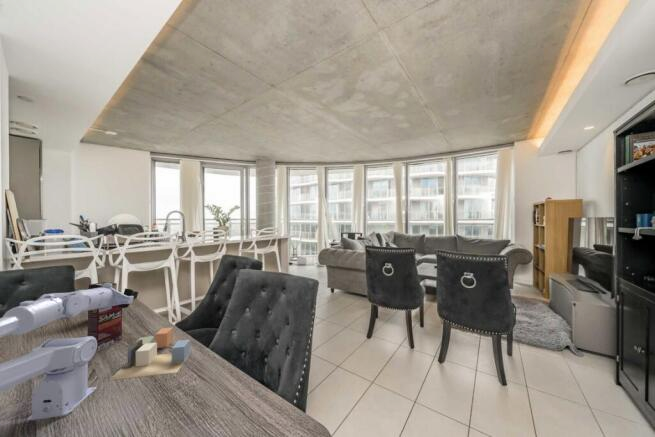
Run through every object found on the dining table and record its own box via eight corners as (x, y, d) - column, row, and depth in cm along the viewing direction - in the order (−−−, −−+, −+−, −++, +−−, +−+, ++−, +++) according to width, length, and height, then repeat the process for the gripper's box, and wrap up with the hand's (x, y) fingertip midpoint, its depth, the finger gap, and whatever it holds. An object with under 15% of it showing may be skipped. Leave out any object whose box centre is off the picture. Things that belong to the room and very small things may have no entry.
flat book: (148, 347, 89) (148, 342, 89) (133, 350, 87) (133, 345, 87) (154, 340, 94) (154, 335, 94) (139, 342, 93) (139, 337, 93)
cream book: (148, 364, 76) (148, 350, 76) (135, 366, 75) (135, 351, 75) (156, 356, 81) (156, 342, 81) (144, 357, 80) (144, 343, 80)
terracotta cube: (166, 348, 87) (166, 333, 87) (155, 350, 86) (155, 334, 86) (173, 342, 92) (173, 327, 92) (162, 343, 91) (162, 328, 91)
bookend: (130, 367, 75) (130, 349, 75) (122, 368, 74) (122, 350, 74) (142, 356, 81) (142, 339, 81) (134, 357, 80) (134, 340, 80)
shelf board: (177, 374, 72) (177, 372, 72) (108, 382, 69) (108, 380, 69) (191, 353, 84) (191, 351, 84) (133, 358, 81) (133, 357, 81)
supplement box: (97, 353, 84) (97, 306, 85) (86, 352, 85) (86, 305, 86) (123, 341, 93) (123, 298, 93) (112, 340, 94) (112, 298, 94)
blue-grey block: (184, 361, 78) (184, 346, 78) (171, 362, 77) (171, 348, 77) (189, 352, 83) (189, 339, 83) (178, 354, 82) (178, 340, 82)
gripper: (123, 288, 70) (150, 284, 84) (68, 281, 69) (104, 277, 82) (115, 314, 69) (144, 305, 82) (59, 307, 68) (98, 299, 81)
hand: (124, 293), depth 82 cm, fingers open, 7 cm apart
